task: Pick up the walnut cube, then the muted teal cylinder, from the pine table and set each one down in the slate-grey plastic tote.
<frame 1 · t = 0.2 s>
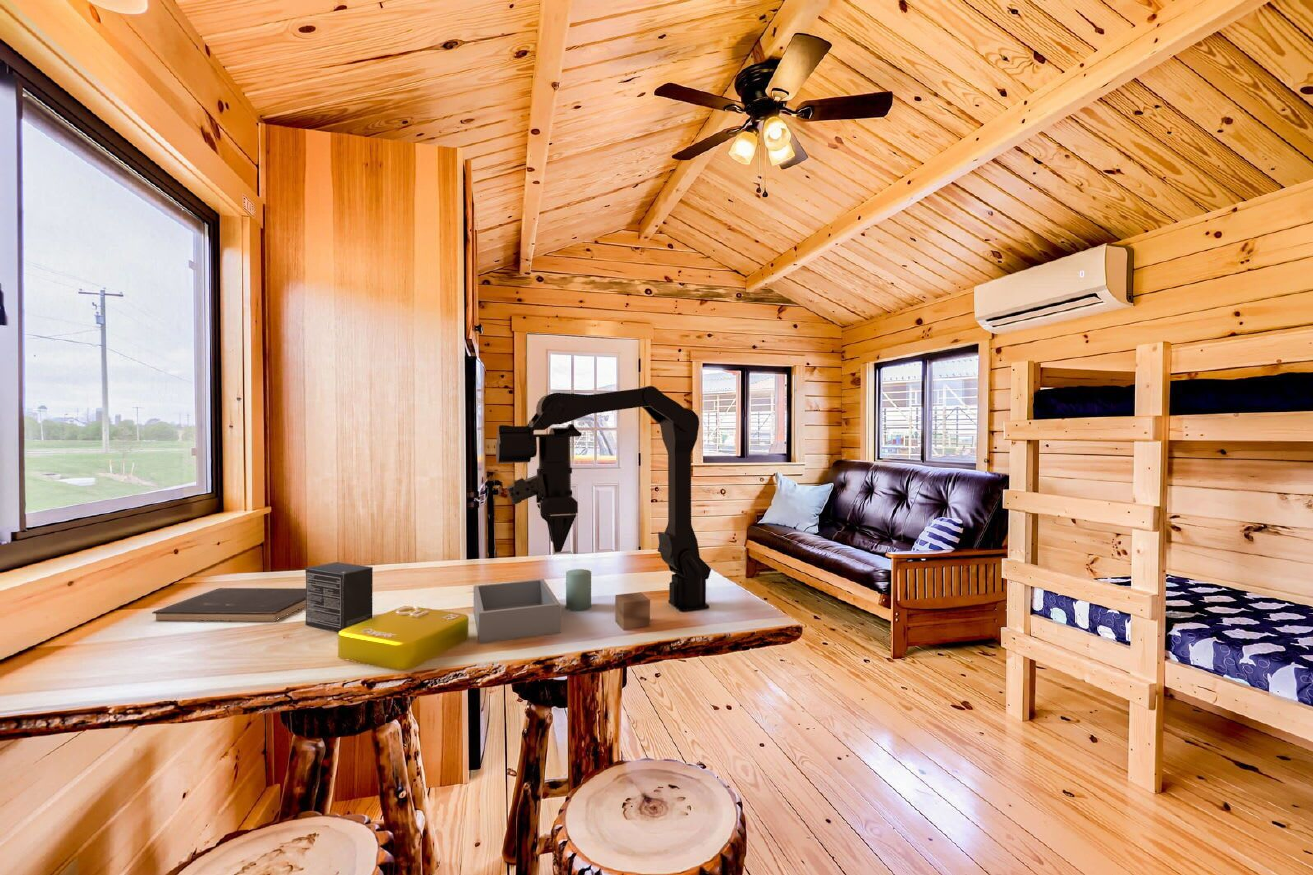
hand: (555, 546, 102), 14 cm above the table, fingers open, 9 cm apart
element tile: (406, 650, 91), on the table
tote: (514, 621, 103), on the table
walnut cube: (632, 624, 102), on the table
small box: (340, 625, 102), on the table
teal cylinder: (578, 607, 112), on the table
hardcover book: (246, 611, 111), on the table
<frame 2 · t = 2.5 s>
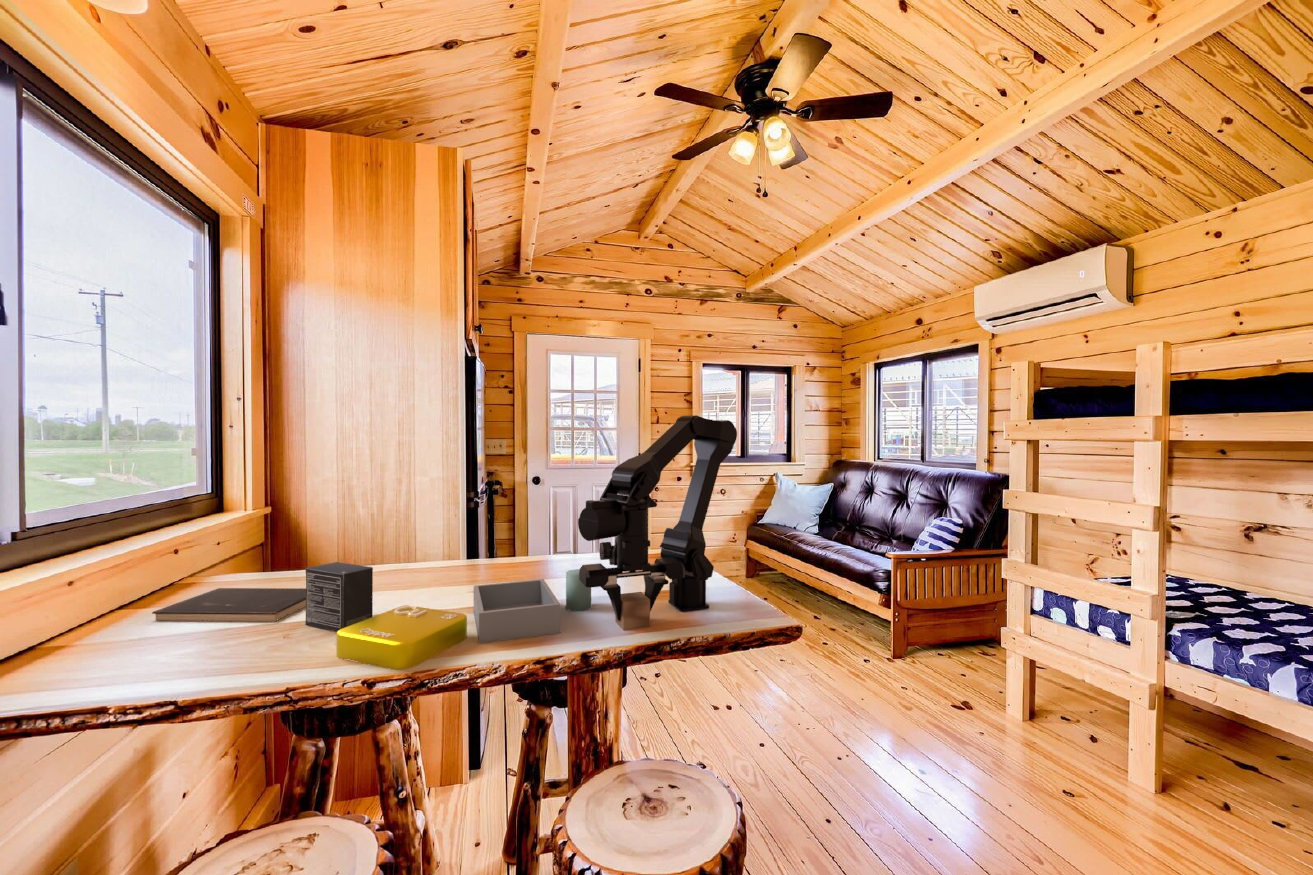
hand: (632, 618, 102), 1 cm above the table, fingers closed on walnut cube, 5 cm apart
walnut cube: (632, 624, 102), on the table, touching gripper
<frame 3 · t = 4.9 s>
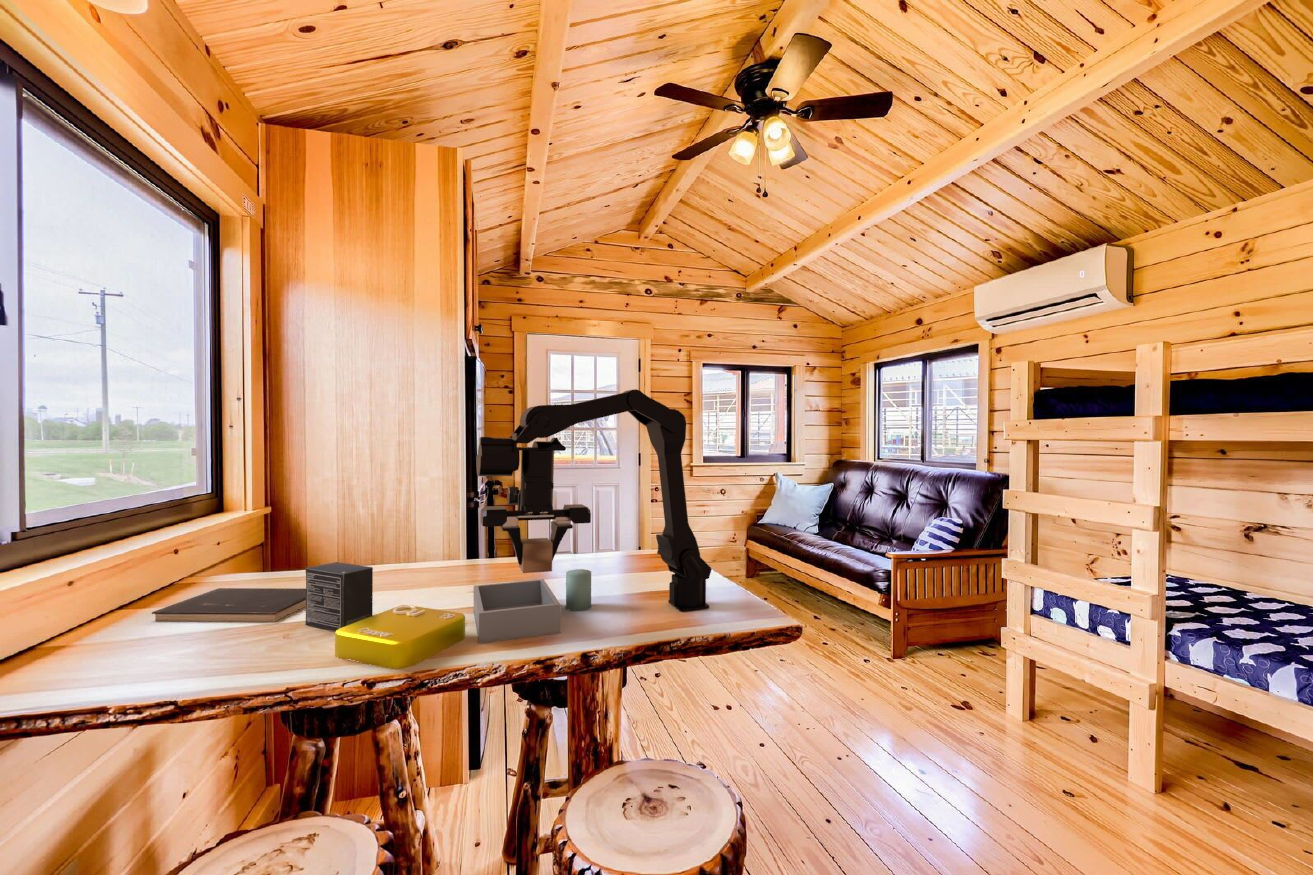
hand: (535, 563, 100), 12 cm above the table, fingers closed on walnut cube, 5 cm apart
walnut cube: (535, 568, 100), point 11 cm above the table, touching gripper
when the fingers open (3 cm above the table, at t = 7.2 s): walnut cube drops 1 cm, resting on tote.
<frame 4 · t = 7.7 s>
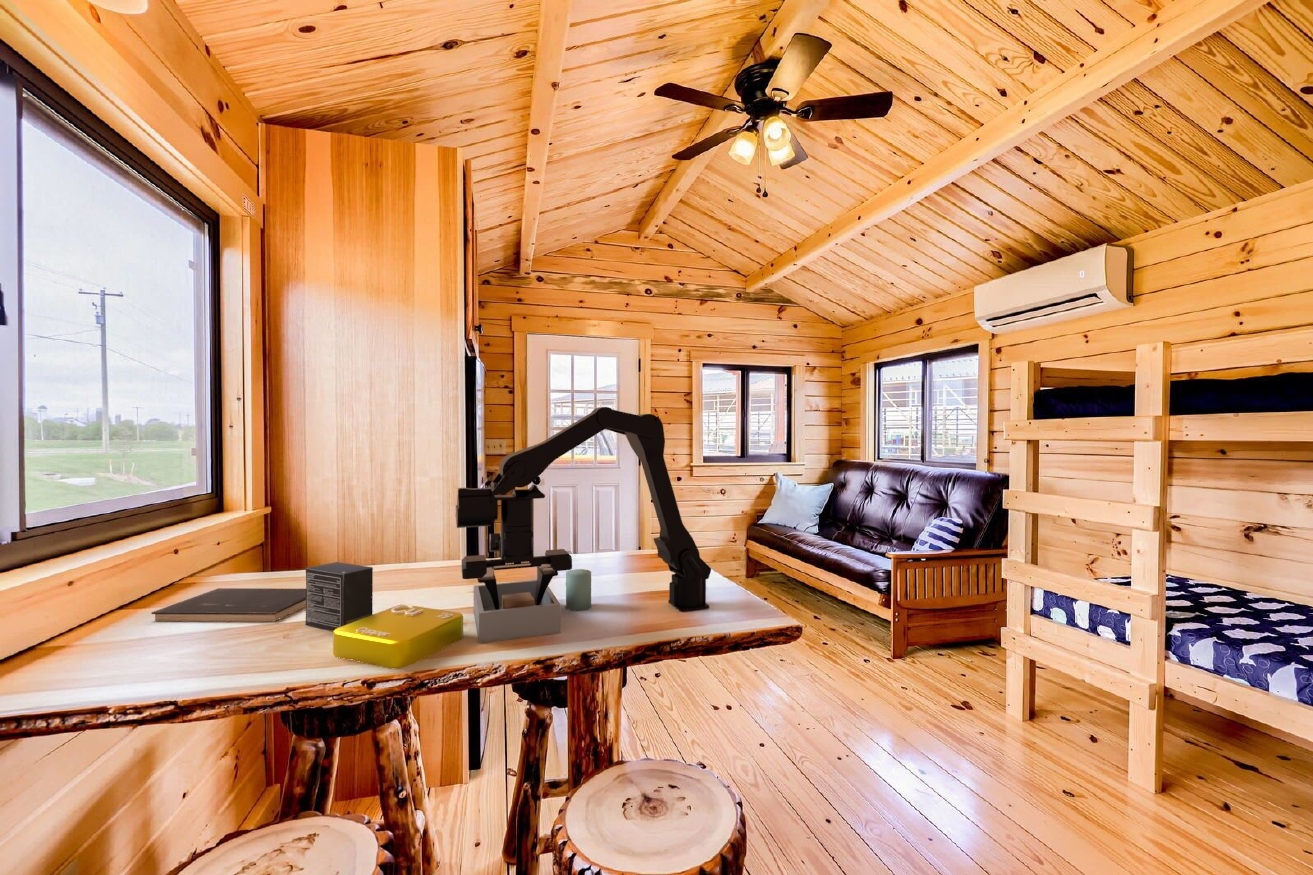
hand: (517, 611, 100), 3 cm above the table, fingers open, 6 cm apart
walnut cube: (517, 625, 100), point 1 cm above the table, touching tote
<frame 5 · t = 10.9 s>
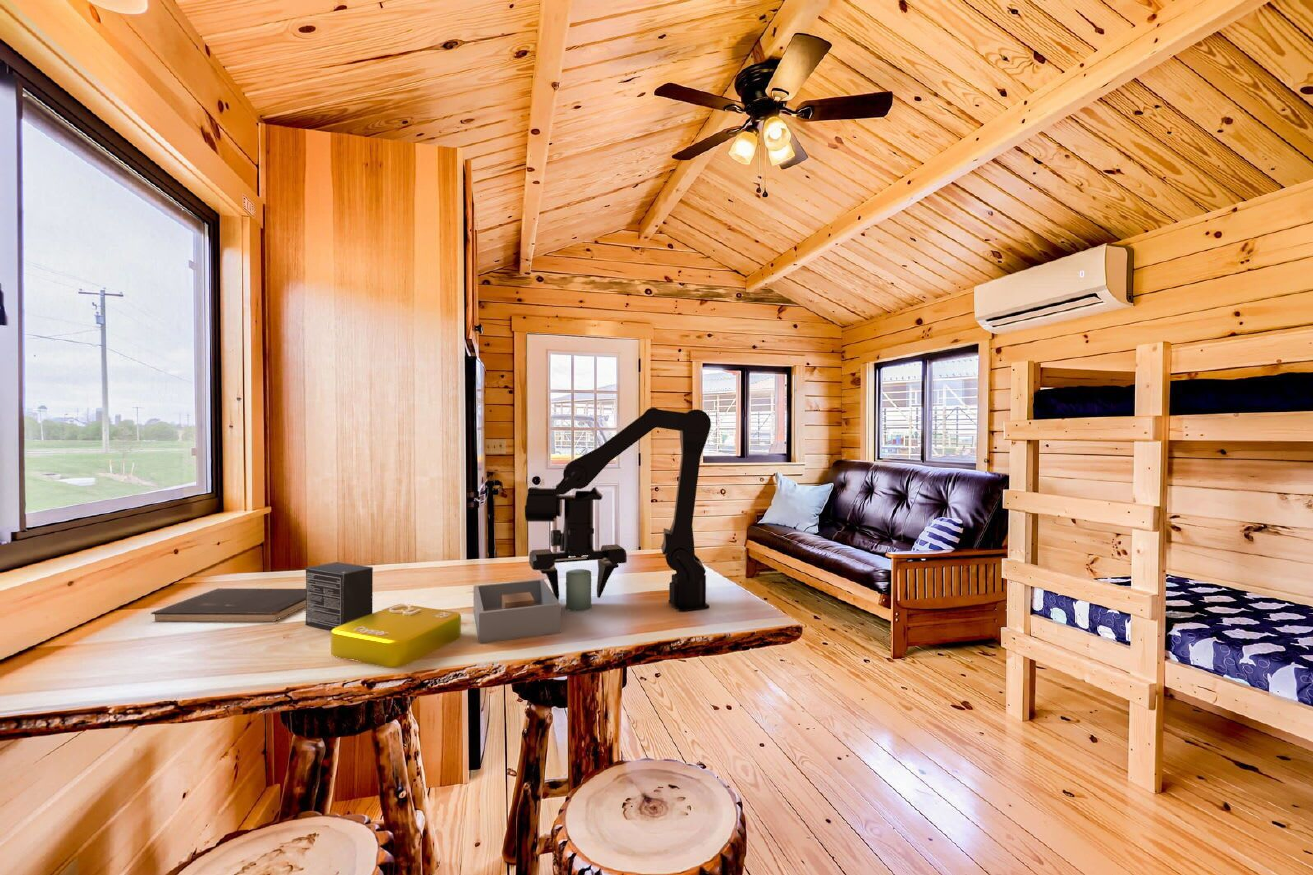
hand: (578, 599, 112), 2 cm above the table, fingers open, 8 cm apart
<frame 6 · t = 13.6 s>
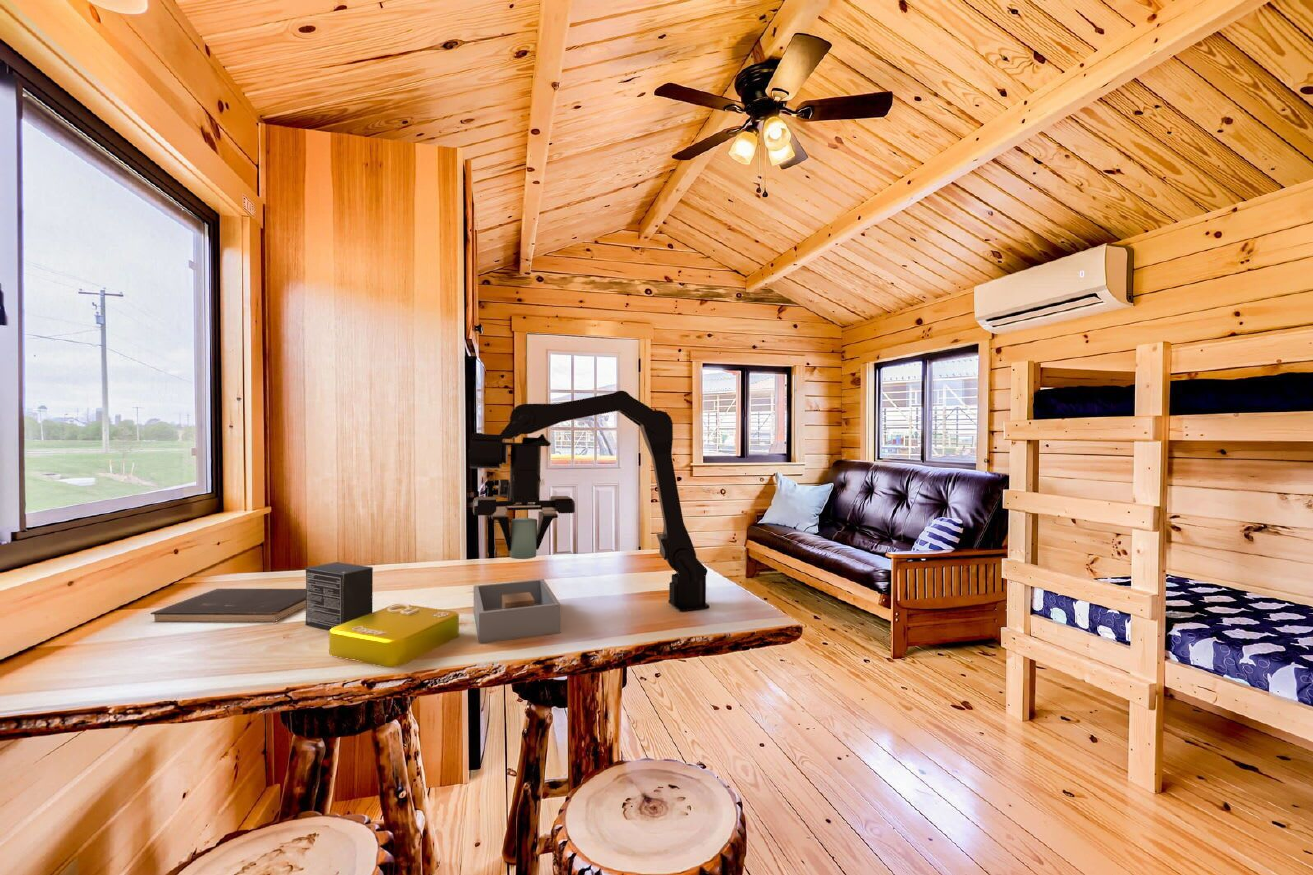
hand: (523, 549, 108), 12 cm above the table, fingers closed on teal cylinder, 5 cm apart
teal cylinder: (523, 556, 108), point 11 cm above the table, touching gripper
when the fingers open (3 cm above the table, at t = 15.9 s): teal cylinder drops 1 cm, resting on tote.
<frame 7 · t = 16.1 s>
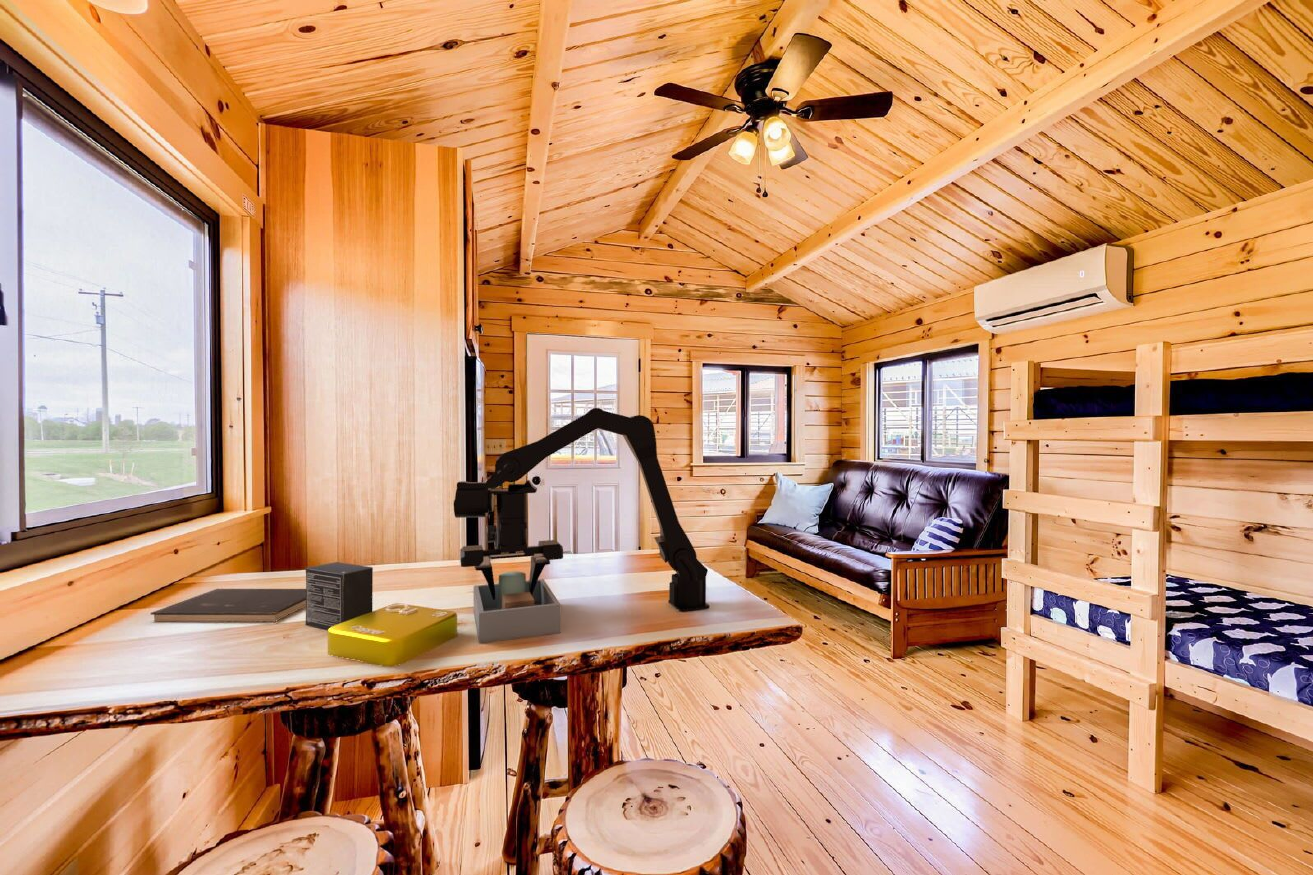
hand: (512, 597, 107), 3 cm above the table, fingers open, 6 cm apart
teal cylinder: (512, 611, 107), point 1 cm above the table, touching tote
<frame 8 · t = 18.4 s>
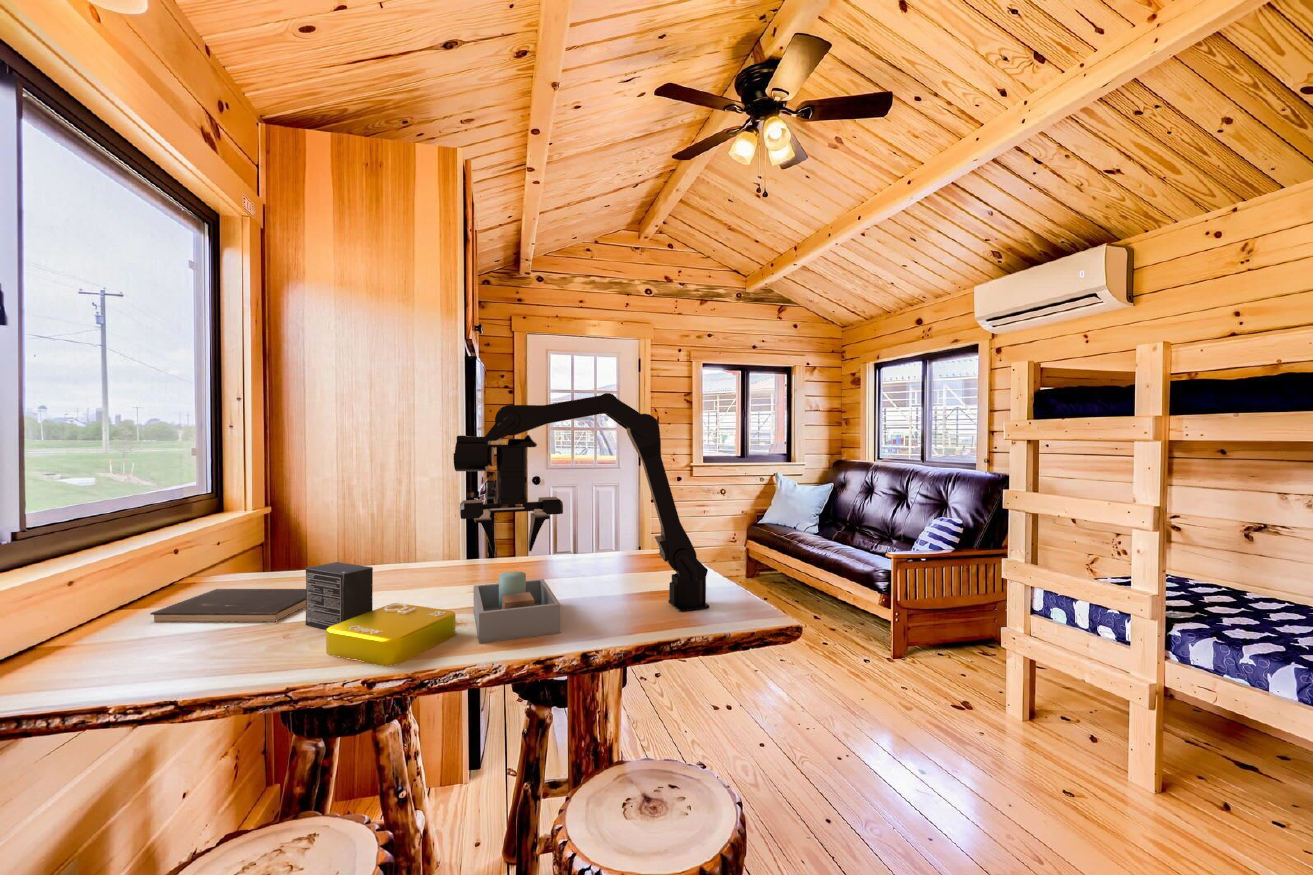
hand: (511, 552, 107), 12 cm above the table, fingers open, 6 cm apart
at the end: walnut cube inside the target area on the tote (4.1 cm from its centre), point 0.6 cm above the tote's base; teal cylinder inside the target area on the tote (4.0 cm from its centre), point 0.6 cm above the tote's base; the gripper is holding nothing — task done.
